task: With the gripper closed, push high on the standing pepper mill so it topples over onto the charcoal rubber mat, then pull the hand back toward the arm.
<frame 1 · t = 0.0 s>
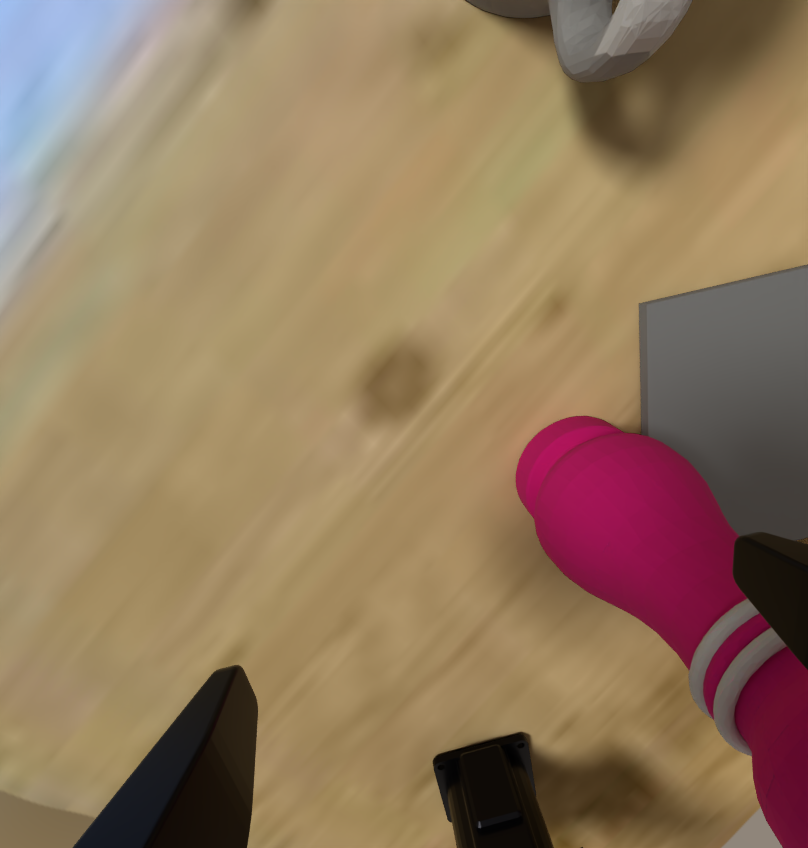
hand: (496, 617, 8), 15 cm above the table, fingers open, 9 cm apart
pepper mill: (569, 468, 24), on the table
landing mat: (763, 423, 25), on the table
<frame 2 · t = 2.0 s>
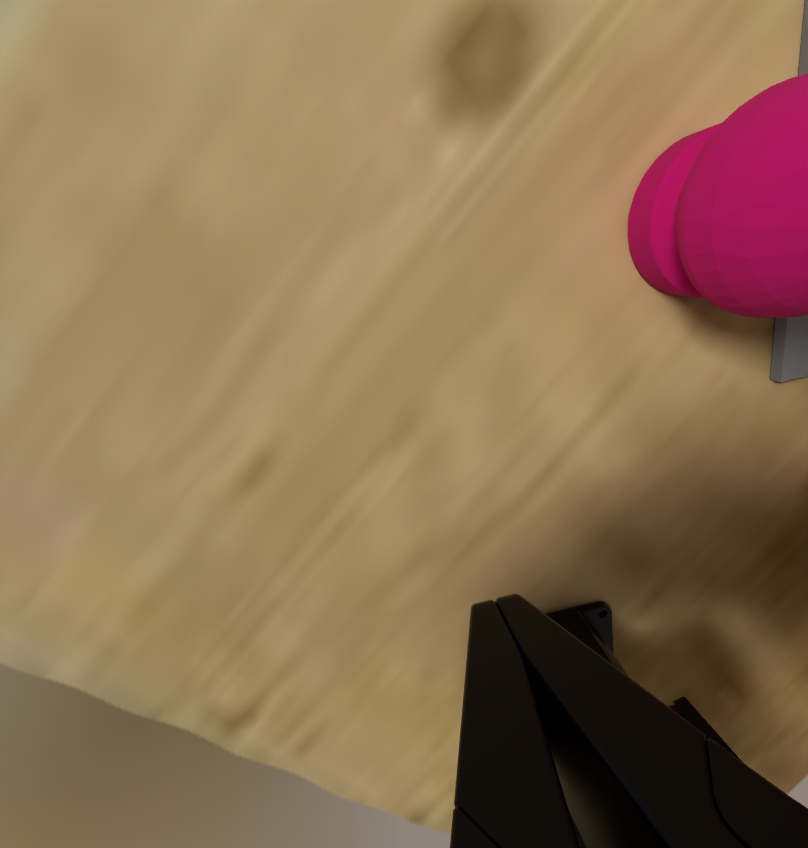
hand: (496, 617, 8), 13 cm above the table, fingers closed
pepper mill: (693, 218, 19), on the table
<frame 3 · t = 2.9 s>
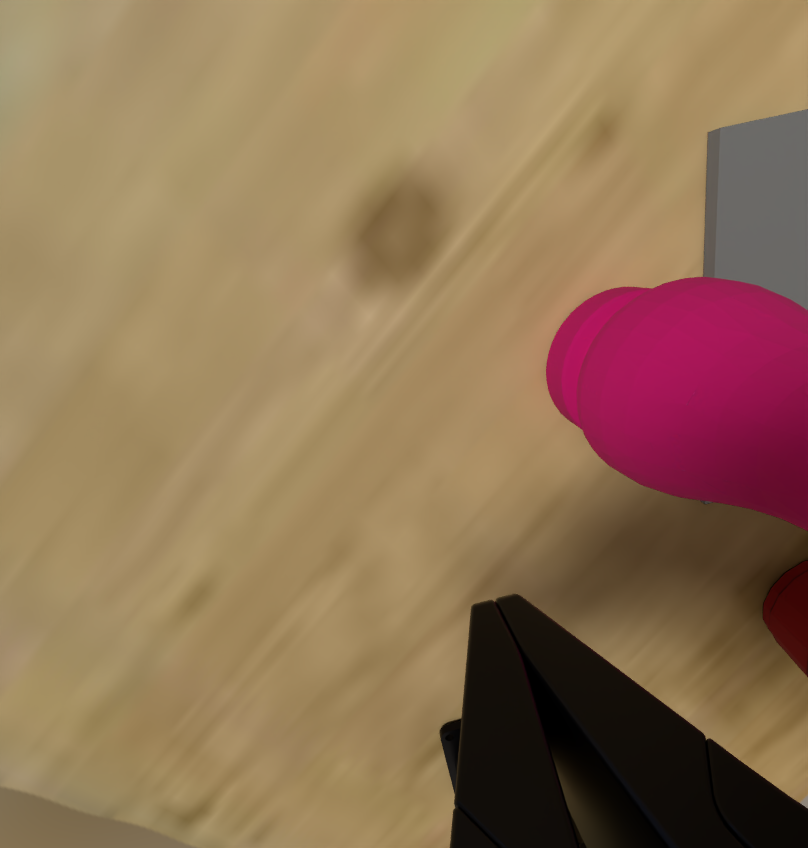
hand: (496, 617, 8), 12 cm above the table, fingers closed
plastic cup: (805, 591, 26), on the table
pepper mill: (611, 360, 20), on the table
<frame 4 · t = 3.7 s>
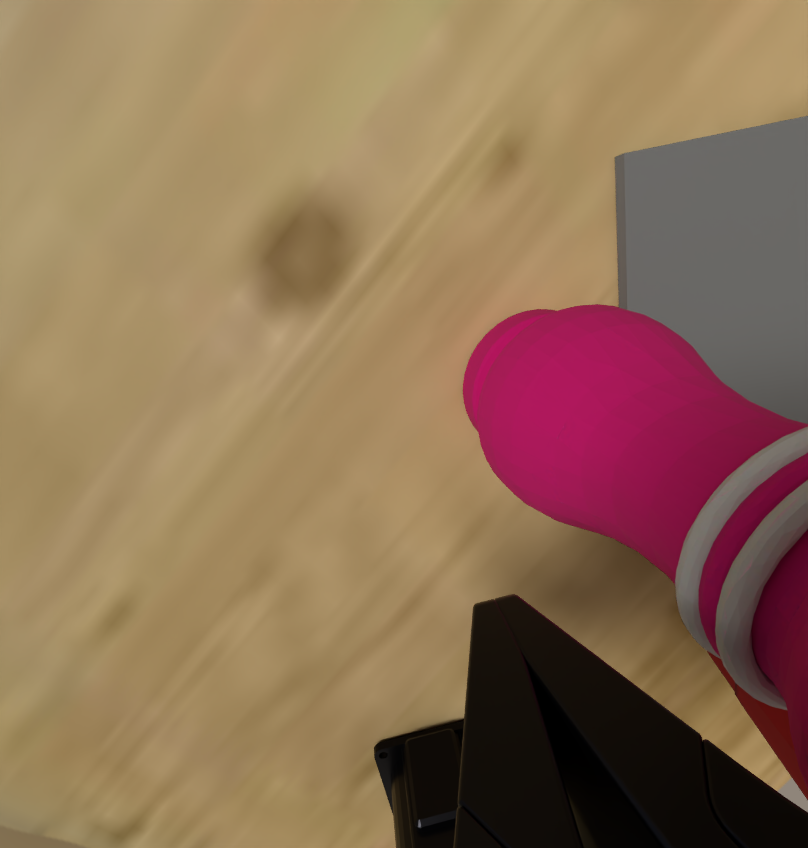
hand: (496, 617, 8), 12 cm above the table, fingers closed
plastic cup: (742, 610, 26), on the table
pepper mill: (530, 382, 20), on the table, touching gripper
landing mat: (771, 329, 20), on the table
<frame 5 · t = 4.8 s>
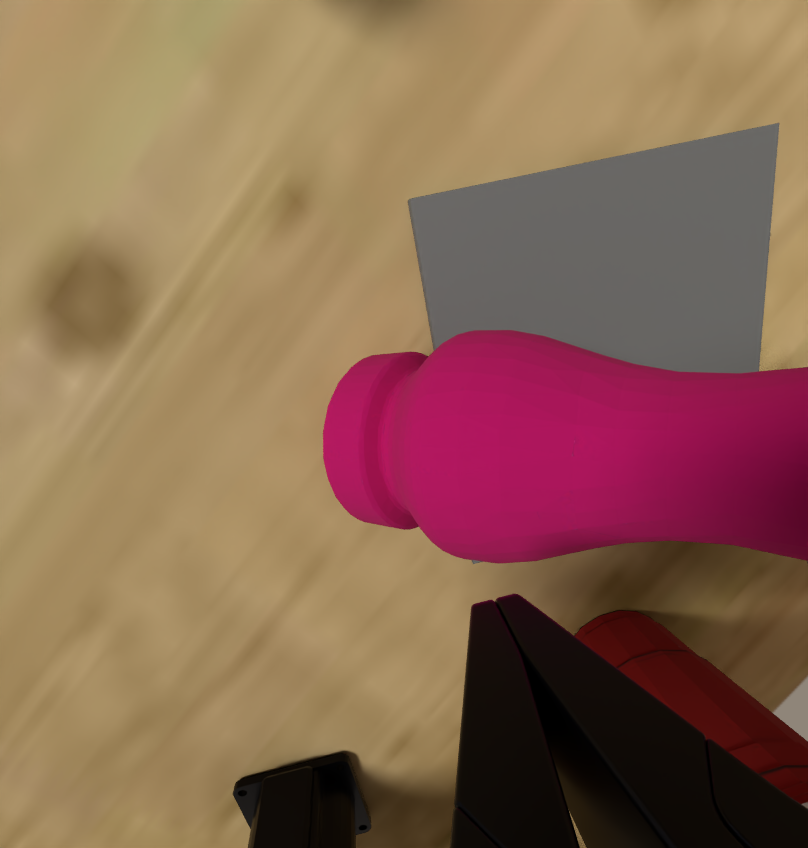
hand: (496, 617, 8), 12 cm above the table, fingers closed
plastic cup: (610, 644, 26), on the table
pepper mill: (376, 438, 17), point 2 cm above the table
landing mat: (599, 368, 20), on the table
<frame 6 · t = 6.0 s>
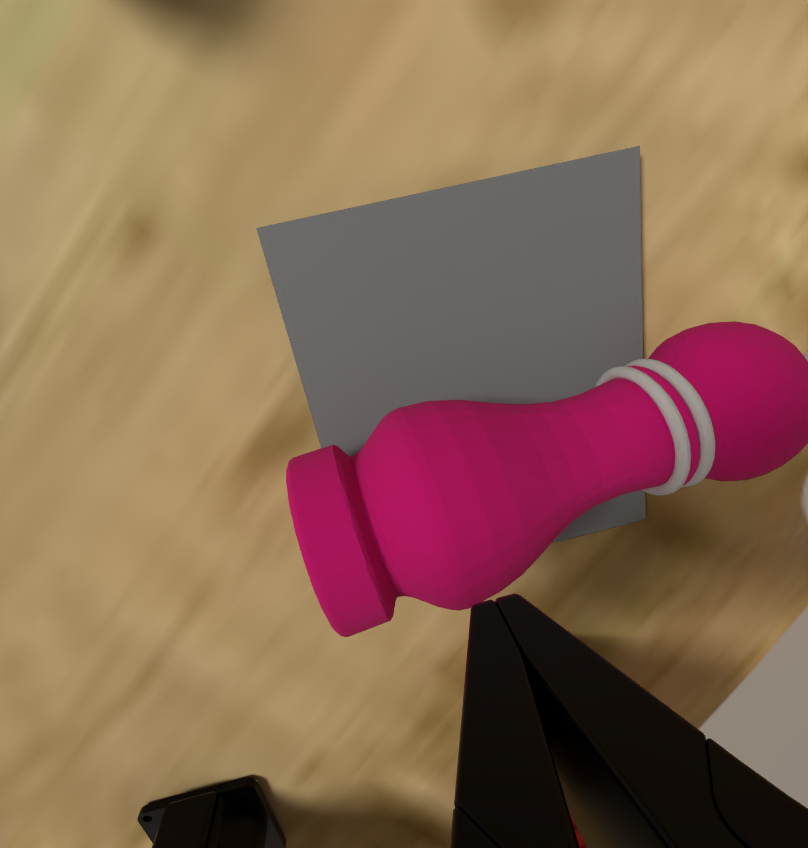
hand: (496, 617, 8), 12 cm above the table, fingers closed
pepper mill: (311, 546, 16), point 5 cm above the table, touching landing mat
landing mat: (479, 393, 19), on the table
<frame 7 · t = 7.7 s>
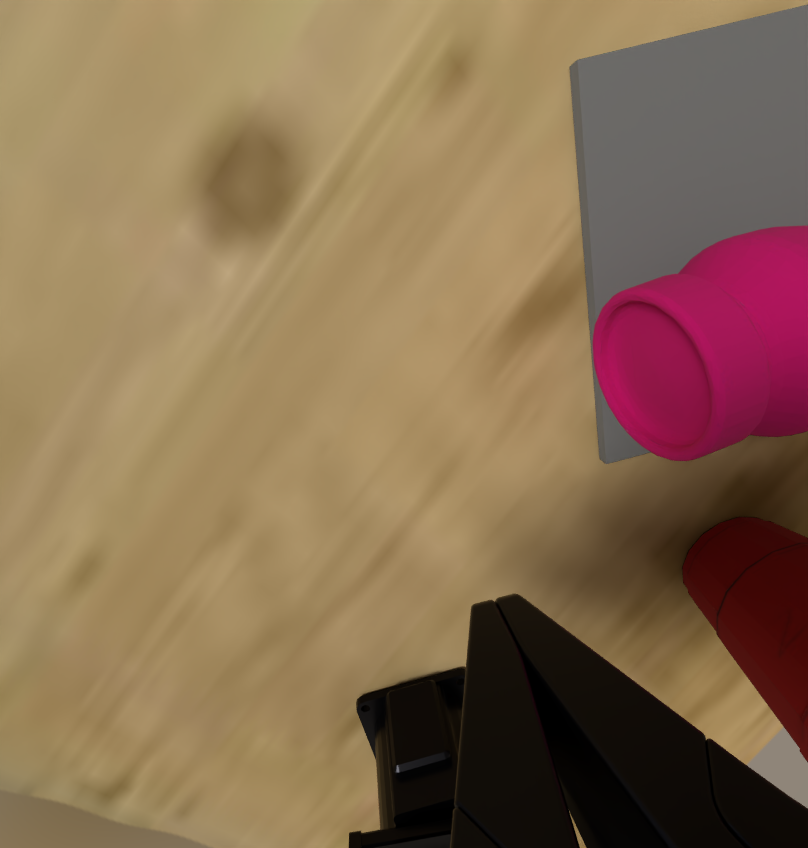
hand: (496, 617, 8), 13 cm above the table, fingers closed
plastic cup: (726, 554, 25), on the table
pepper mill: (638, 380, 16), point 5 cm above the table, touching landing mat
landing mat: (743, 252, 19), on the table
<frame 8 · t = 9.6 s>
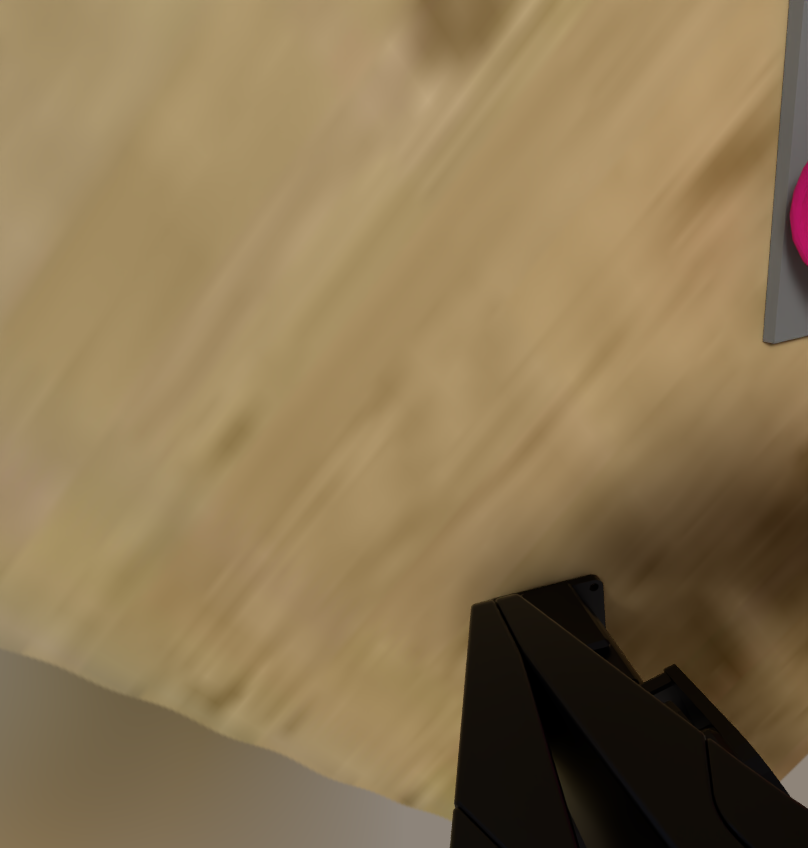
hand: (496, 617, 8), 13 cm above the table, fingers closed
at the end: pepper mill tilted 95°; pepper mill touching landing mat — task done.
